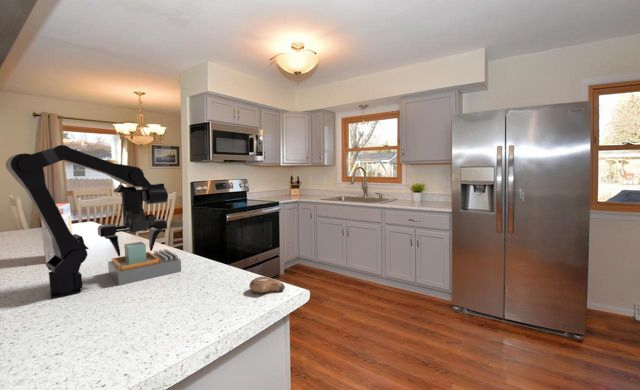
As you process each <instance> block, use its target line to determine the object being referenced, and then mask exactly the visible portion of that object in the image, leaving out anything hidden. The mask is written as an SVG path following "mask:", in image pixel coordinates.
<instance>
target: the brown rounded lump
mask: <svg viewBox="0 0 640 390" xmlns="http://www.w3.org/2000/svg"><path fill="white" fill-rule="evenodd" d="M248 285H249V287H248V288H249V289H250V290H251V292H254V293H258V294H264V293H272V292H281V291H283V290H285V288H286V286H285V284H284V283H283V282H282V281H280V280H278V279H276V278H275V279H274V278H270V277H267V276H259V277H255V278H254V279H252V280H251V281H250V283H249V284H248Z"/></svg>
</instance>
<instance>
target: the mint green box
mask: <svg viewBox="0 0 640 390" xmlns="http://www.w3.org/2000/svg"><path fill="white" fill-rule="evenodd" d="M123 245H124V256H125V262H126V263H127V264H128V265H129V264H134V263H139V262H144V261H147V259H146V252H147V246H146V245H147V244H146V243H144V242H143V241H140V242H139V241H137V242H130V243H124V244H123Z"/></svg>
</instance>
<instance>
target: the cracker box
mask: <svg viewBox="0 0 640 390" xmlns="http://www.w3.org/2000/svg"><path fill="white" fill-rule="evenodd" d="M55 204H56V206H57V208H58V210H59V212H60V214H61V216H62V218H63V219H64V221H65V223H66V225H67V227H68V229H69V231H70V232H71V234H72V235H74V233H73V226H72V225H73V224H72V216H71V215H72V214H71V204H70V203H69V202H67V203H64V202H63V203H55ZM40 223H41V233H42V241H43V252H44V261H45V264H46V263H47V262H48V261H49V260H50V259H51V258H52V257H53V256H54V255H55V252H54V249H53V244H52V237H51V235H50V233H49V231H48V229H47V227H46V226H45V224H44V222H43V220H42V218H41V217H40Z"/></svg>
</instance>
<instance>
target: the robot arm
mask: <svg viewBox="0 0 640 390" xmlns="http://www.w3.org/2000/svg"><path fill="white" fill-rule="evenodd" d="M61 161H63V162H66V163H68V164H72V165H74V166H75V165H76V166H78V167H81V168H85V169H89V170H91V171H94V172H98V173H101V174H104V175H106V176H108V177H110V178H111V179H113V180H115V181H117V182H119V183H121V184H119V185H117V187H116V188H115V189H113V193H116V194H117V193H118V194H119V193H120V194H121V205H122V206H121V207H122V209H121V210H122V225H117V226H116V225H114V224H111V223H109V224H103V225H99V226H98V227H97V235H98V236H100V237H101V238H105V239H106V240H109V242H110V243H111V244H112V246H113V249H114V251H115V252H116V255H117V257H121V249H120V244H119V236H118V235H117V234H116V233H120V232H121V233H122V232H129V231H130V232H131V233H137V232H147V231H148V230H149V231H148V241H149V243H148V245H149V246H148V247H149V252H151V251H153V249H154V245H155V243H156V239H157V238H158V236H159V234H160V233H161V232H163V231H164V230H166V229H168V223H167V221H166V220H165V219H162V218H157V219H156V218H155V214H153V213H151V214H145V210H144V202H145V204H146V205H154V204H155V205H157V204H166V203H167V202H168V199H169V193H168V191H167V189H166V187H165V183H155V184H154V183H153V184H151V183H150V181H149V180H148V179H147V178H146V177H145V174H144V172H143V169H141V168H140V167H137V166H133V165H128V164H121V163H115V162H111V161H108V160H105V159H103V158H100V157H97V156H94V155H91V154H88V153H85V152H83V151H80V150H77V149H74V148H71V147H69V146H68V145H65V144H60V145H55V146H52V147H51V148H48V149H45V150H40V151H38V152H34V153H17V154H14V155H11V156H10V157H8V158H7V160H6V161H5V167H6V169H7V171H8V173H10V174H11V176H12V178H13V179H14V180H16V181H17V183H18V184H19V185H20V186H21V187H22V188H24V190H25V192H26V193H27V194H28V197H29V198H30V200H31V202H32V204H33V205H34V207H35V209H36V211H37V214H38V215H39V216H40V219H41V218H42V220H43V222H44V224H45V226H46V227H47V229H48V231H49V233H50V235H51V237H52V244H53V249H54V252H55V255H54V256H53V257H52V258H51V259H50V260H49V261H48V262H47V263H45V266H46V268H47V269H48V271H49V272H48V281H49V296H50V299H56V298H60V297H65V296H68V295H74V294H79V293H82V288H83V278H82V277H83V276H82V275H83V274H82V273H81V272H80V268H81V266H82V263H84V262H85V261H86V259H87V257H88V250H89V247H88V246H87V245H86V243H85V240H84V237H83V236H82V235H79V234H76V233H72V234H73V235H72V234H71V232H70V231H69V229H68V227H67V225H66V223H65V221H64V219H63V218H62V216H61V214H60V212H59V210H58V208H57V206H56V204H57V203H55V201H54V198H53V196H52V195H51V193H50V190H49V189H48V187H47V184H46V176H45V175H46V174H45V171H44V168H45V167H48V166H51V165H53V164H56V163H58V162H59V163H60V162H61ZM123 184H124V185H130V186H124V185H123ZM137 188H138V189H137ZM139 188H141V189H139Z"/></svg>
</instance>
